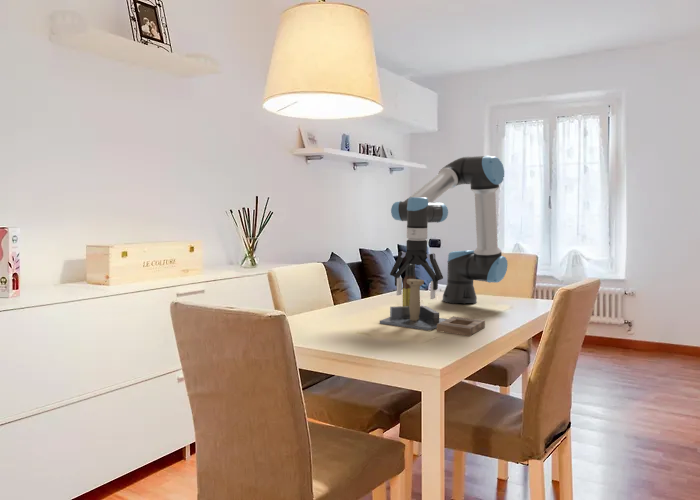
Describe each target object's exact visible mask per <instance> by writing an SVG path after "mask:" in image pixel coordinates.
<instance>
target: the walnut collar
mask: <svg viewBox="0 0 700 500" xmlns="http://www.w3.org/2000/svg"><path fill="white" fill-rule="evenodd" d="M446 319H447V320H445V321H443V322H440V323H438V324H437V328H436V331H437V332H440V331H444V332H443V333H447V332H448V333H447V334H454V335H462V336H469V337H470V336H472V335H474V334H476V333H477V332H479V331H481V330H482V329H485V327H486V320H484V319H477V318H476V319H475V318H468V317H462V316H461V317H460V316H452V317H449V318H446Z"/></svg>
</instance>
